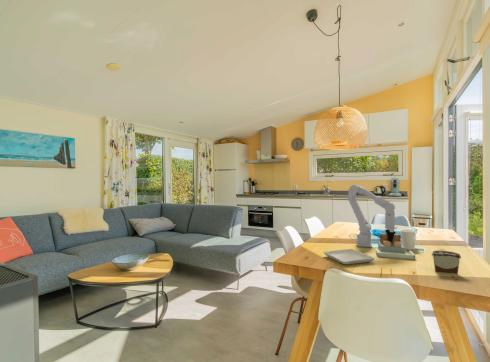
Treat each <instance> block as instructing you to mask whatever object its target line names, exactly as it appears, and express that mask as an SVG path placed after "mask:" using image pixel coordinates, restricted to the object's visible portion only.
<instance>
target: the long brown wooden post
mask: <svg viewBox="0 0 490 362" xmlns="http://www.w3.org/2000/svg"><path fill="white" fill-rule="evenodd" d="M383 241H388V236H387V234H386V232H385V233H383V232H380V233H379V242H380V243H383ZM393 241H398V242H401V233H395V234H394V236H393ZM393 241H392V242H391V244H393Z"/></svg>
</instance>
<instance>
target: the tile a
mask: <svg viewBox="0 0 490 362" xmlns="http://www.w3.org/2000/svg"><path fill="white" fill-rule="evenodd" d="M383 245H384V246H391V242H390V241H383Z"/></svg>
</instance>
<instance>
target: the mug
mask: <svg viewBox="0 0 490 362" xmlns="http://www.w3.org/2000/svg"><path fill="white" fill-rule="evenodd" d="M416 239H417V235H416V231H415V230H412V229H400V242H401V243H402V245H403V246H404V247H405V250H409V251H413V250H414V251H415V250H416V246H415V245H416V244H415V243H416Z"/></svg>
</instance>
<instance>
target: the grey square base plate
mask: <svg viewBox="0 0 490 362" xmlns="http://www.w3.org/2000/svg"><path fill="white" fill-rule="evenodd" d="M377 243H378V244H377V245H378V246H377V249H378V251H383V252H396V253H406V249H405V247H404V246H403V245H402V243H401V247H395V246H393V244H391V246H384V245H383V243H380V241H378V242H377Z"/></svg>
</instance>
